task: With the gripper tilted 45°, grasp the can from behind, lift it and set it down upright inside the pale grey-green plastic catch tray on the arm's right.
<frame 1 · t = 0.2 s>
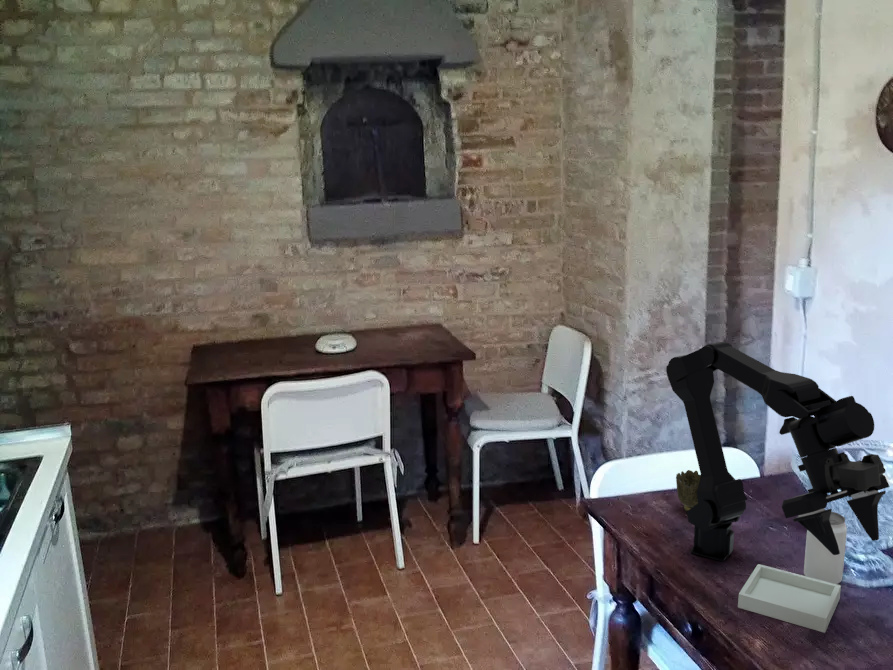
hand: (856, 547, 134), 15 cm above the table, tool tilted 35°, fingers open, 9 cm apart
can: (822, 578, 154), on the table
catch tray: (789, 603, 146), on the table
olive piece: (692, 512, 181), on the table
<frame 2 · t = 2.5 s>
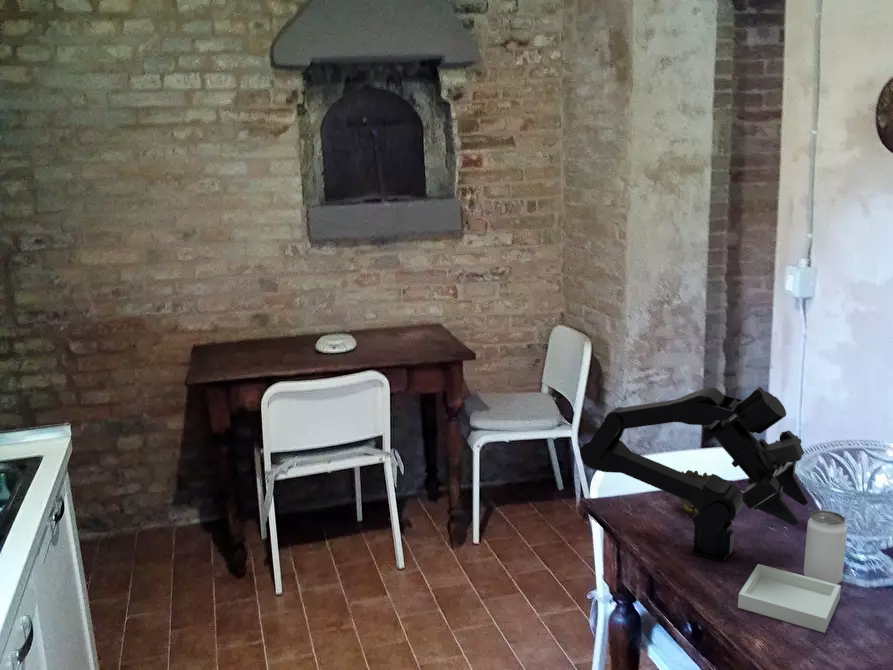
hand: (801, 513, 153), 12 cm above the table, tool tilted 45°, fingers open, 9 cm apart
nothing on the table moved.
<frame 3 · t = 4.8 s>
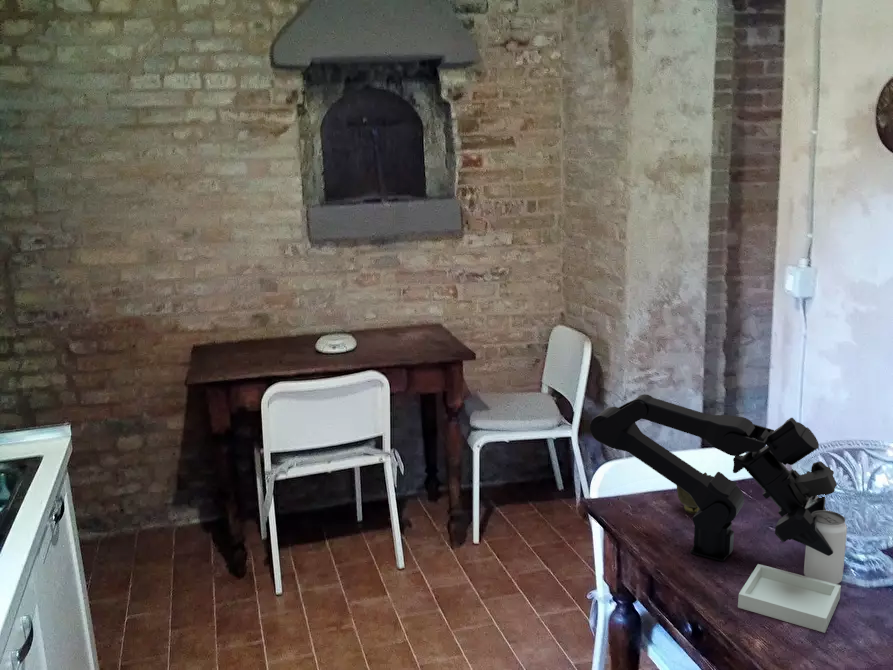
hand: (834, 546, 151), 7 cm above the table, tool tilted 45°, fingers closed on can, 6 cm apart
can: (822, 578, 154), on the table, touching gripper
everything else where it was.
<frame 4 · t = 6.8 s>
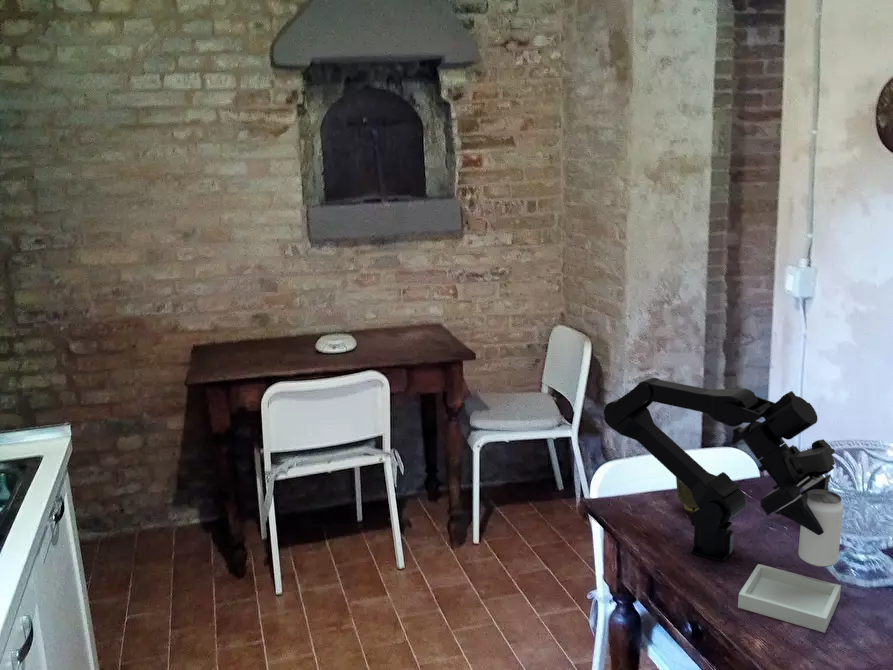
hand: (829, 527, 146), 12 cm above the table, tool tilted 45°, fingers closed on can, 6 cm apart
can: (817, 559, 149), point 5 cm above the table, touching gripper
everything else where it was.
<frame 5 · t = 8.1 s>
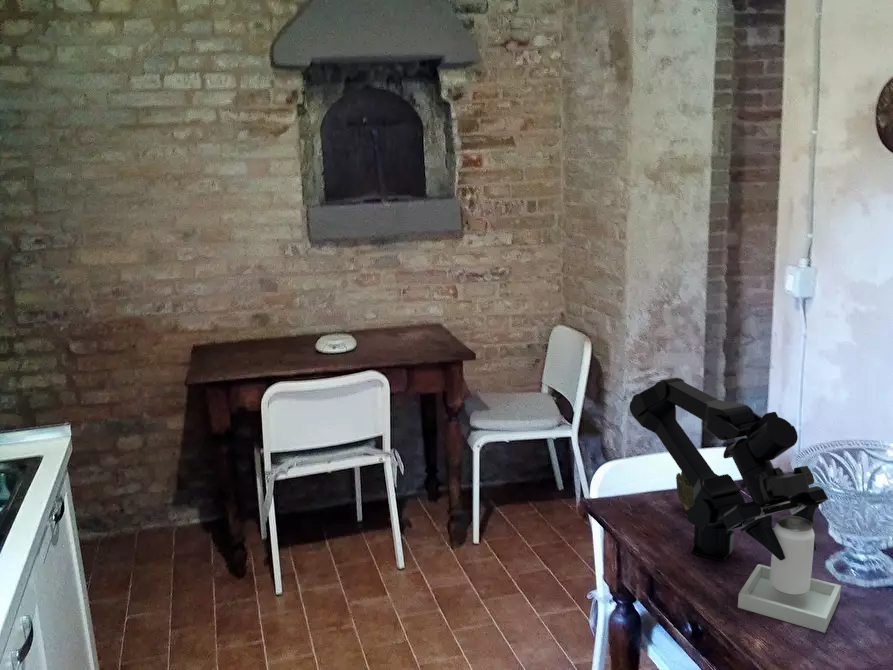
hand: (798, 555, 142), 10 cm above the table, tool tilted 45°, fingers closed on can, 6 cm apart
can: (789, 587, 145), point 3 cm above the table, touching gripper
everything else where it was.
when the fingers open (8 cm above the table, at t = 8.9 s): can drops 1 cm, resting on catch tray.
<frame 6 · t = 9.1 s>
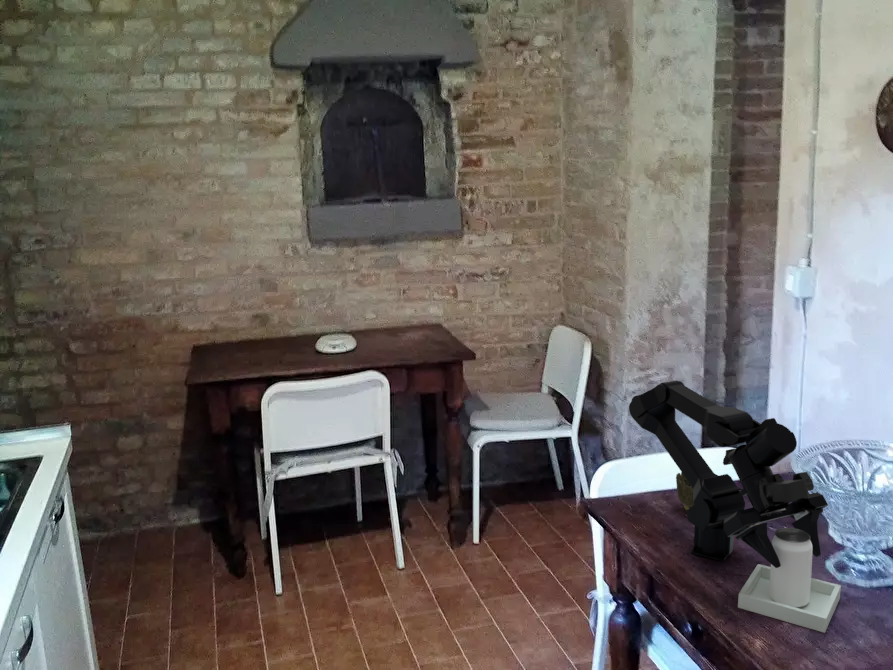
hand: (798, 561, 142), 9 cm above the table, tool tilted 45°, fingers open, 8 cm apart
can: (789, 600, 146), point 1 cm above the table, touching catch tray
everything else where it was.
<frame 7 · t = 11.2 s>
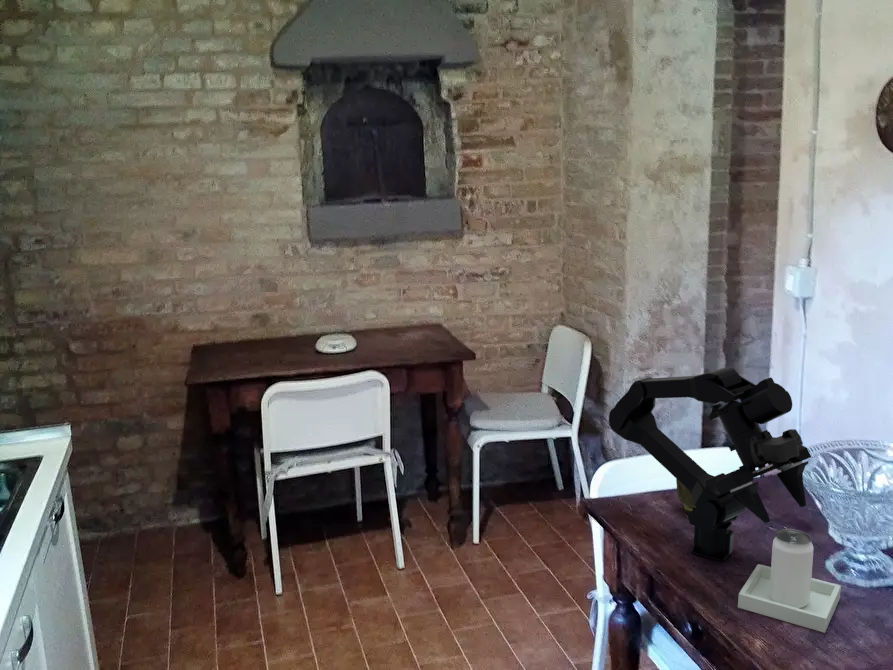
hand: (786, 514, 149), 14 cm above the table, tool tilted 35°, fingers open, 9 cm apart
nothing on the table moved.
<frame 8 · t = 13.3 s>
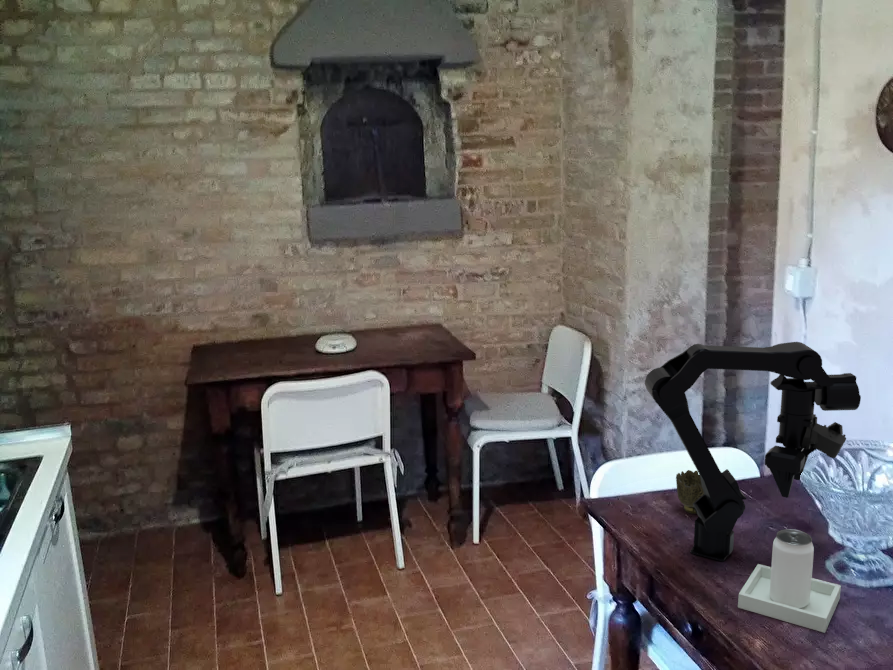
hand: (791, 488, 160), 13 cm above the table, tool pointing down, fingers open, 9 cm apart
nothing on the table moved.
at the end: can inside the target area on the catch tray (0.0 cm from its centre), point 0.4 cm above the catch tray's base; can tilted 0°; the gripper is holding nothing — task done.
